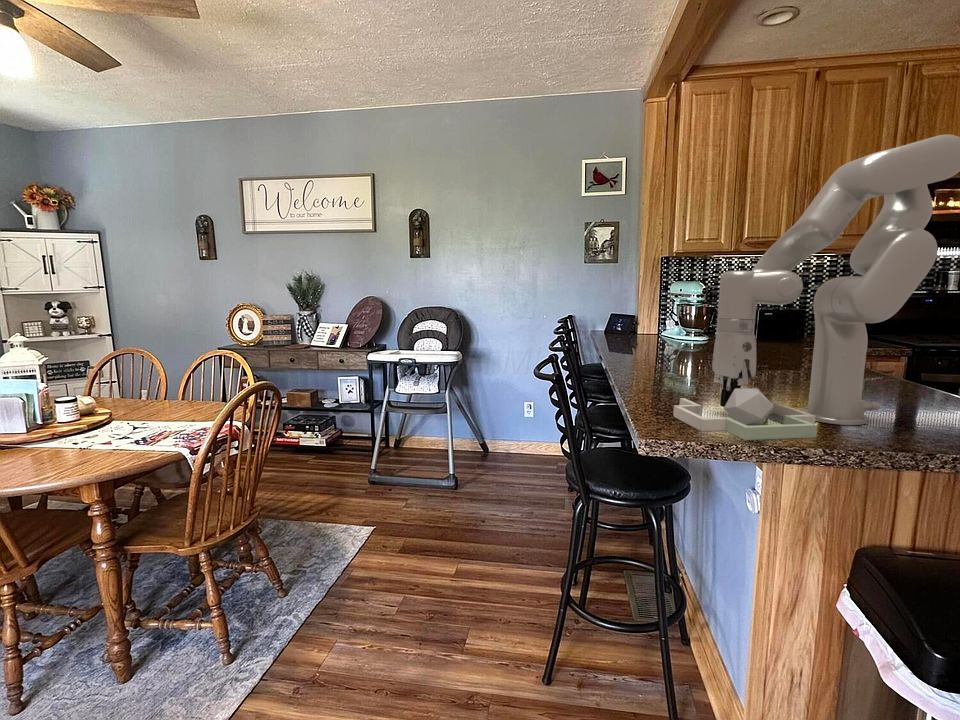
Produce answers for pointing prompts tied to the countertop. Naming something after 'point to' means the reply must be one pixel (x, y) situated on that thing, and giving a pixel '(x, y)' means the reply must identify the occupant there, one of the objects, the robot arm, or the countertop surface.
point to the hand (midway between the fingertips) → (728, 406)
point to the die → (748, 406)
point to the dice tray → (792, 420)
